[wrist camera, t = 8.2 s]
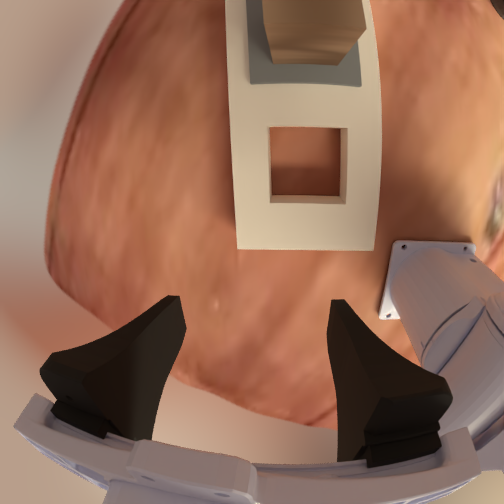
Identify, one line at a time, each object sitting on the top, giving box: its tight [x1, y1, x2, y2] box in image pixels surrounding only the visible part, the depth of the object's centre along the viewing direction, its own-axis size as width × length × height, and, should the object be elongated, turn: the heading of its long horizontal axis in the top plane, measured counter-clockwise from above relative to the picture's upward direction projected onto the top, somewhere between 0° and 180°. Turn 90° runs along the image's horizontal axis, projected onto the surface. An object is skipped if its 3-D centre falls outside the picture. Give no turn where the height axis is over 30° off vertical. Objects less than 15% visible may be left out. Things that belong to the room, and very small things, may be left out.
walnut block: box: [262, 0, 367, 66], centre depth 10 cm, size 4×4×7 cm
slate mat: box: [246, 0, 362, 87], centre depth 13 cm, size 7×7×1 cm
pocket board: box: [225, 0, 382, 251], centre depth 16 cm, size 10×20×2 cm, turn 3°
